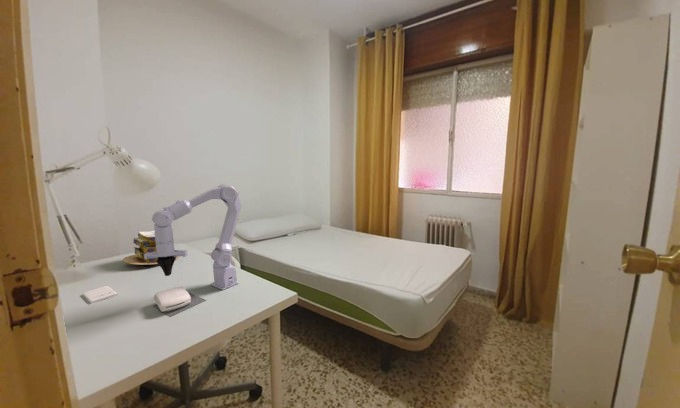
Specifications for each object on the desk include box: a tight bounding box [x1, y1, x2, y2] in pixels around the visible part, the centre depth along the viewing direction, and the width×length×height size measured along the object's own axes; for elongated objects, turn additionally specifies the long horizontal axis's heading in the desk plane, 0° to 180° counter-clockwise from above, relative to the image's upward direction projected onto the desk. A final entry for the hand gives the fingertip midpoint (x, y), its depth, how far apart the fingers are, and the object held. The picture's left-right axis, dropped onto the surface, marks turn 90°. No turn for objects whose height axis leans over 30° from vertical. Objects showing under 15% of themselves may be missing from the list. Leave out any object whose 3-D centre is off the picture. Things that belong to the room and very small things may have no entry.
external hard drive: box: [82, 285, 118, 305], centre depth 107 cm, size 2×8×12 cm
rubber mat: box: [152, 291, 207, 318], centre depth 100 cm, size 13×13×1 cm
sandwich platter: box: [122, 229, 179, 266], centre depth 145 cm, size 25×25×17 cm
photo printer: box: [153, 286, 191, 313], centre depth 99 cm, size 10×4×12 cm
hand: (168, 274), depth 103 cm, fingers closed
